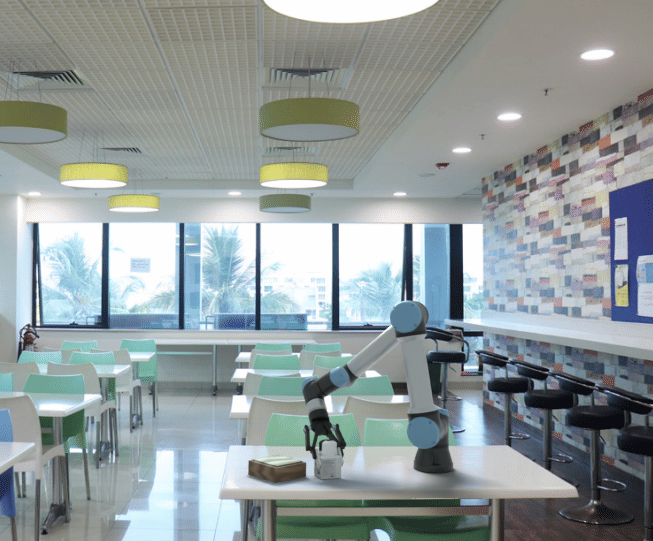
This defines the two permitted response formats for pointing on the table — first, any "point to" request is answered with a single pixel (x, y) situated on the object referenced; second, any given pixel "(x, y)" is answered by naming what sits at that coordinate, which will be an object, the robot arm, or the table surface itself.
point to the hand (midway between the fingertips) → (330, 465)
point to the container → (328, 460)
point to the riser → (277, 468)
